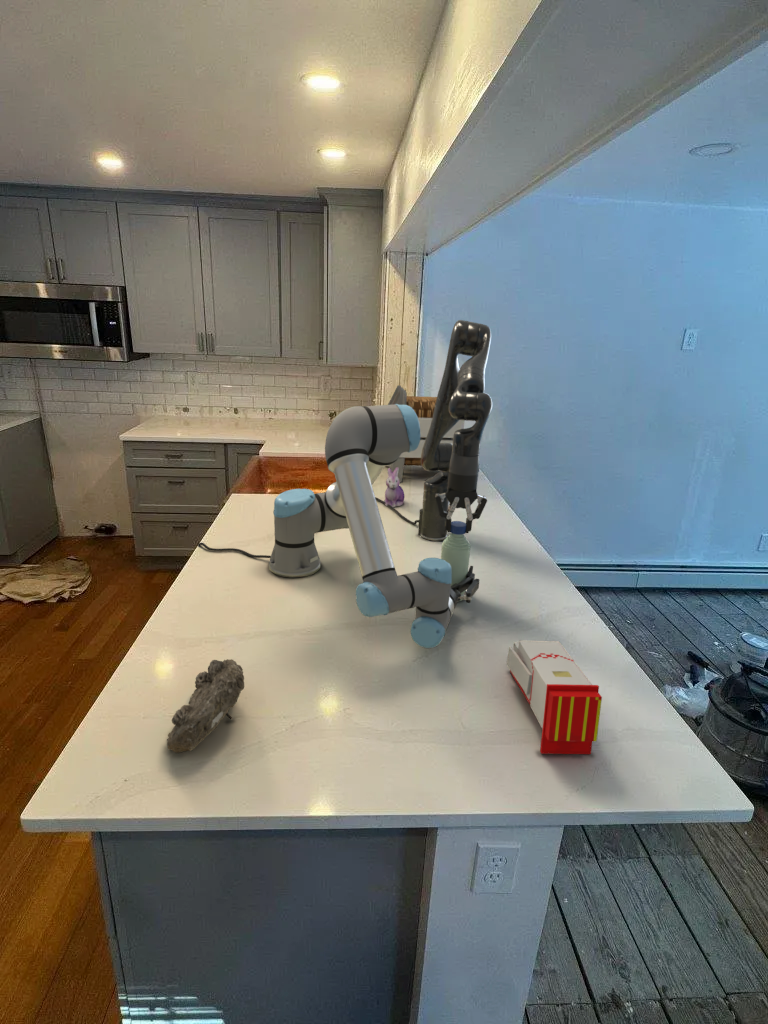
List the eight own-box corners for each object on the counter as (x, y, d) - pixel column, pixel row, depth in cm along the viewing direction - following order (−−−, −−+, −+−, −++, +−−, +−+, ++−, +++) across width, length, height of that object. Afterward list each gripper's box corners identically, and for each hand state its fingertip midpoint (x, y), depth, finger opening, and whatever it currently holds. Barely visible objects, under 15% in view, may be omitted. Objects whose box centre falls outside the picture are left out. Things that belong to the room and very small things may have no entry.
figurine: (389, 509, 224) (391, 472, 218) (377, 501, 232) (379, 465, 227) (410, 506, 228) (412, 470, 223) (398, 498, 236) (399, 463, 231)
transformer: (382, 463, 289) (386, 382, 275) (445, 464, 293) (451, 384, 279) (390, 482, 257) (394, 392, 243) (460, 483, 261) (468, 394, 247)
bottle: (456, 587, 163) (463, 519, 156) (470, 599, 157) (478, 528, 149) (432, 591, 160) (438, 521, 153) (445, 603, 154) (452, 531, 147)
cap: (456, 527, 155) (457, 519, 154) (469, 532, 152) (470, 524, 151) (445, 530, 152) (446, 523, 151) (458, 536, 149) (459, 528, 148)
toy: (555, 623, 127) (611, 693, 98) (549, 678, 130) (602, 761, 101) (501, 622, 127) (542, 691, 98) (497, 677, 130) (535, 760, 100)
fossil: (192, 660, 117) (244, 628, 112) (224, 691, 120) (276, 661, 115) (142, 746, 98) (202, 712, 93) (182, 779, 101) (242, 748, 96)
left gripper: (398, 610, 144) (420, 573, 165) (479, 626, 139) (491, 585, 159) (400, 583, 142) (422, 549, 162) (482, 598, 136) (494, 561, 157)
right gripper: (489, 468, 150) (482, 528, 155) (435, 465, 150) (430, 525, 156) (493, 475, 143) (486, 538, 148) (437, 472, 143) (431, 535, 148)
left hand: (456, 567), depth 161 cm, fingers closed on bottle, 8 cm apart
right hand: (457, 531), depth 152 cm, fingers closed on cap, 4 cm apart
